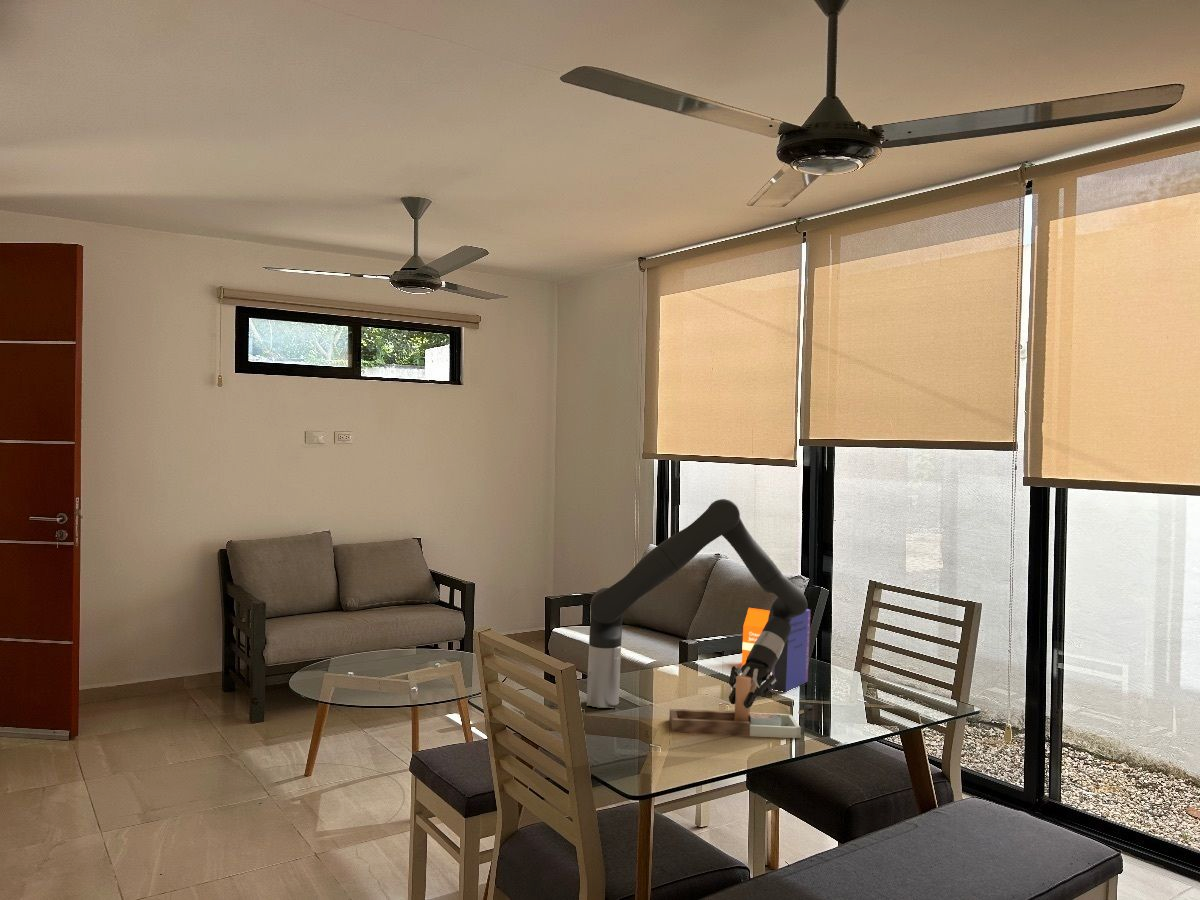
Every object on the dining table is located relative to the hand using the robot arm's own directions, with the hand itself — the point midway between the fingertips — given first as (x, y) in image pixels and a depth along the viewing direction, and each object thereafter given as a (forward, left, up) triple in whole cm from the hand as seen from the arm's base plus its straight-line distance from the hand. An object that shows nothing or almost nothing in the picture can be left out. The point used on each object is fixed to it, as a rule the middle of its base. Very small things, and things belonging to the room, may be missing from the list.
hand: (738, 704), depth 237 cm
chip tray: (+9, +1, -8) cm, 12 cm away
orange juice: (+19, +76, -8) cm, 79 cm away
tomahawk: (+21, +18, -8) cm, 29 cm away
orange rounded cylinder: (+1, +1, -5) cm, 6 cm away
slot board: (-8, +1, -8) cm, 11 cm away
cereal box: (+25, +51, -8) cm, 57 cm away
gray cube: (+9, +1, -7) cm, 12 cm away
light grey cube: (+5, +1, -7) cm, 9 cm away
